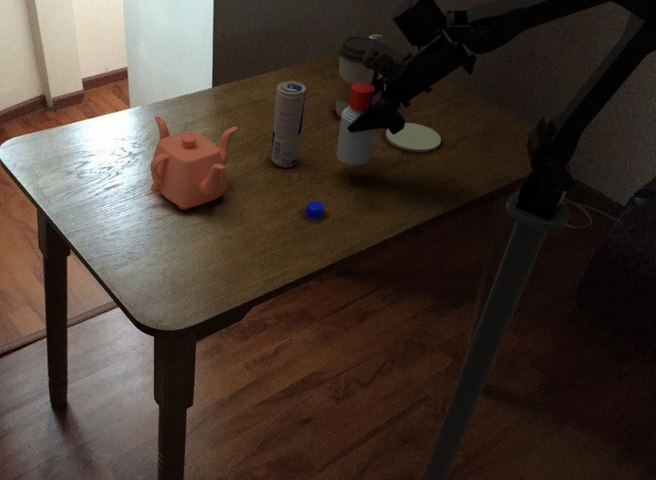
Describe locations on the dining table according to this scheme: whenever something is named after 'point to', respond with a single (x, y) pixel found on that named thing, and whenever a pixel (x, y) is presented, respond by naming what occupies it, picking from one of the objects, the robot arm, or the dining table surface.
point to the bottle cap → (314, 210)
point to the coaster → (415, 138)
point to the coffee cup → (351, 69)
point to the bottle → (353, 140)
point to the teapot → (189, 166)
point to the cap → (361, 96)
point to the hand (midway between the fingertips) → (350, 121)
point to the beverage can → (287, 123)
